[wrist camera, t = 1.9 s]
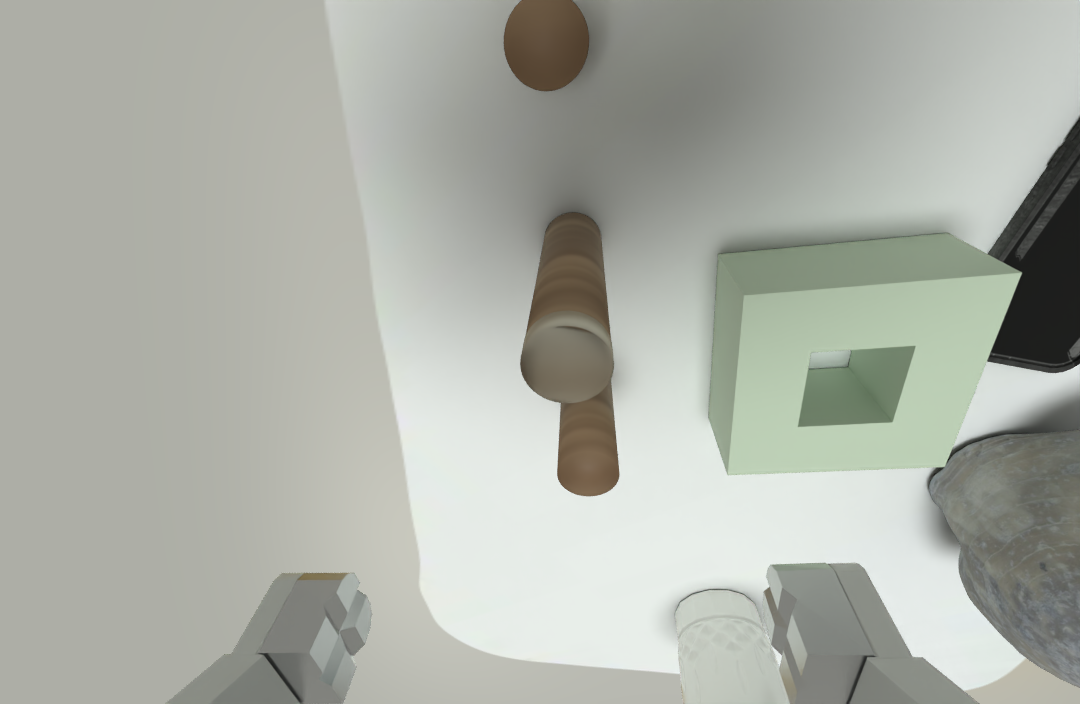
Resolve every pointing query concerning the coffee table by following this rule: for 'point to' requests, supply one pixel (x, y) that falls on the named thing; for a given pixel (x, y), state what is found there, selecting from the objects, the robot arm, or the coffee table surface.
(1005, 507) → the decorative stone
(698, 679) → the white cup
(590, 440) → the pin medium
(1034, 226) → the phone
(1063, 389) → the coffee table surface
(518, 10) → the pin short
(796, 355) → the socket block
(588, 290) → the pin long
